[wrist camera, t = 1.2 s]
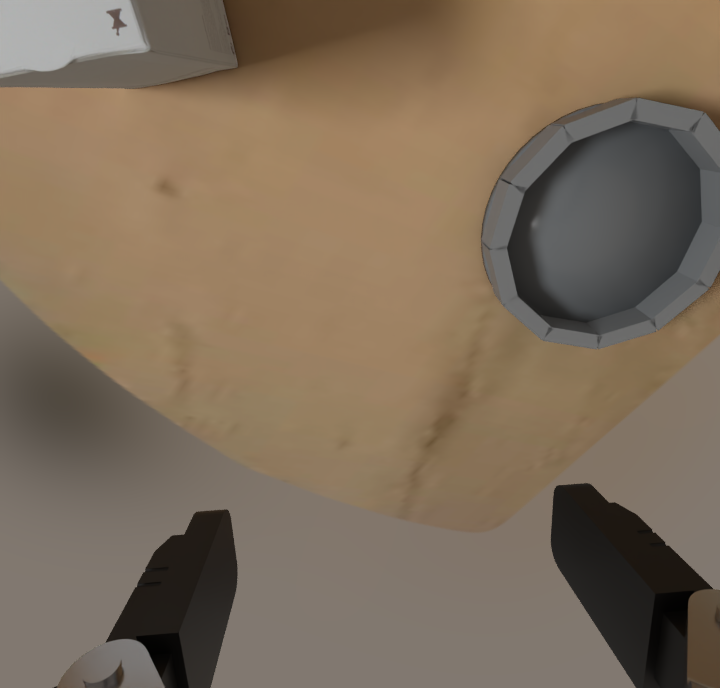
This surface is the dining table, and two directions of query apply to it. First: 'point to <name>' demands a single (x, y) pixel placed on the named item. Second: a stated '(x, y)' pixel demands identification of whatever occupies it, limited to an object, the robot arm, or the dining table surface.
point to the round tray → (606, 222)
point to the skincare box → (111, 42)
